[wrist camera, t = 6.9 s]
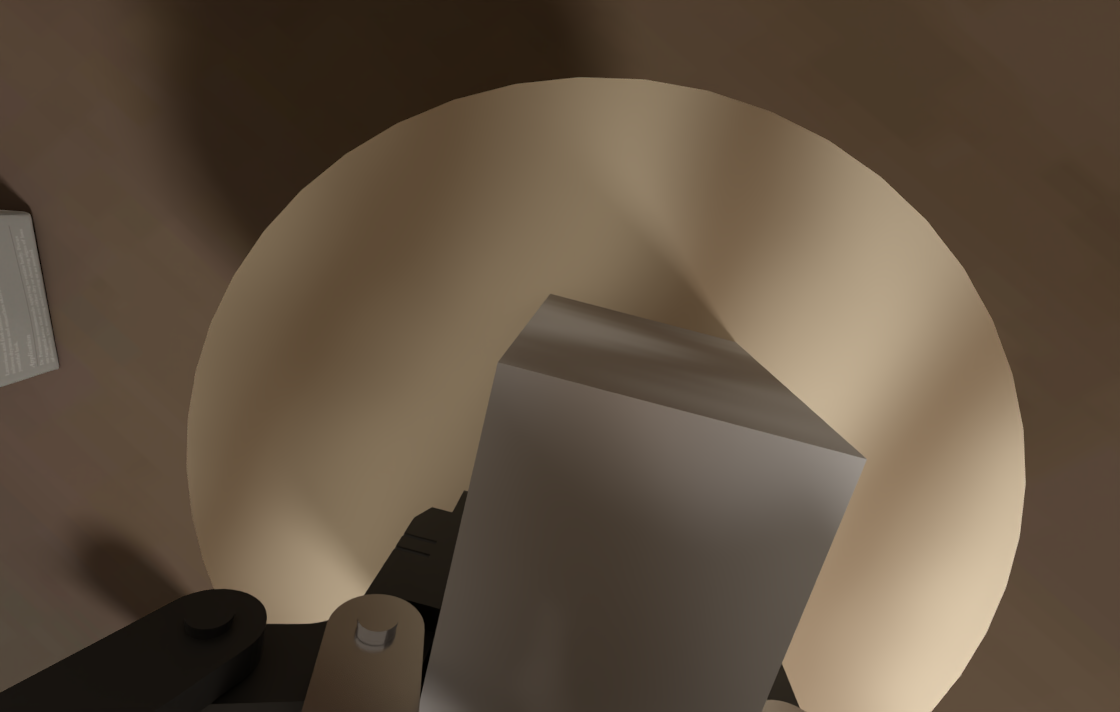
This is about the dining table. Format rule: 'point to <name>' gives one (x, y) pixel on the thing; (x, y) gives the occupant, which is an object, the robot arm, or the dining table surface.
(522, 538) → the lid
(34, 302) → the skincare box
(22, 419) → the dining table surface
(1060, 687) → the dining table surface
